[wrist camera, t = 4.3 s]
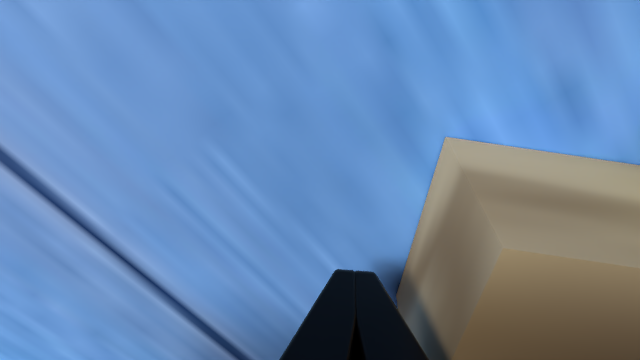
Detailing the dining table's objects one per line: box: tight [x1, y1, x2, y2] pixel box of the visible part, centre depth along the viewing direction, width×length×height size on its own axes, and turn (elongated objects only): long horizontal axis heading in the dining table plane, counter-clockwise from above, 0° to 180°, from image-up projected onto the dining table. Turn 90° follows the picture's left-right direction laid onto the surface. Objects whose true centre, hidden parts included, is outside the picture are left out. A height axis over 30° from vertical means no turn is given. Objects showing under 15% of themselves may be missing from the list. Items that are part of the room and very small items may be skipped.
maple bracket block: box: [396, 137, 640, 360], centre depth 7 cm, size 4×6×4 cm
